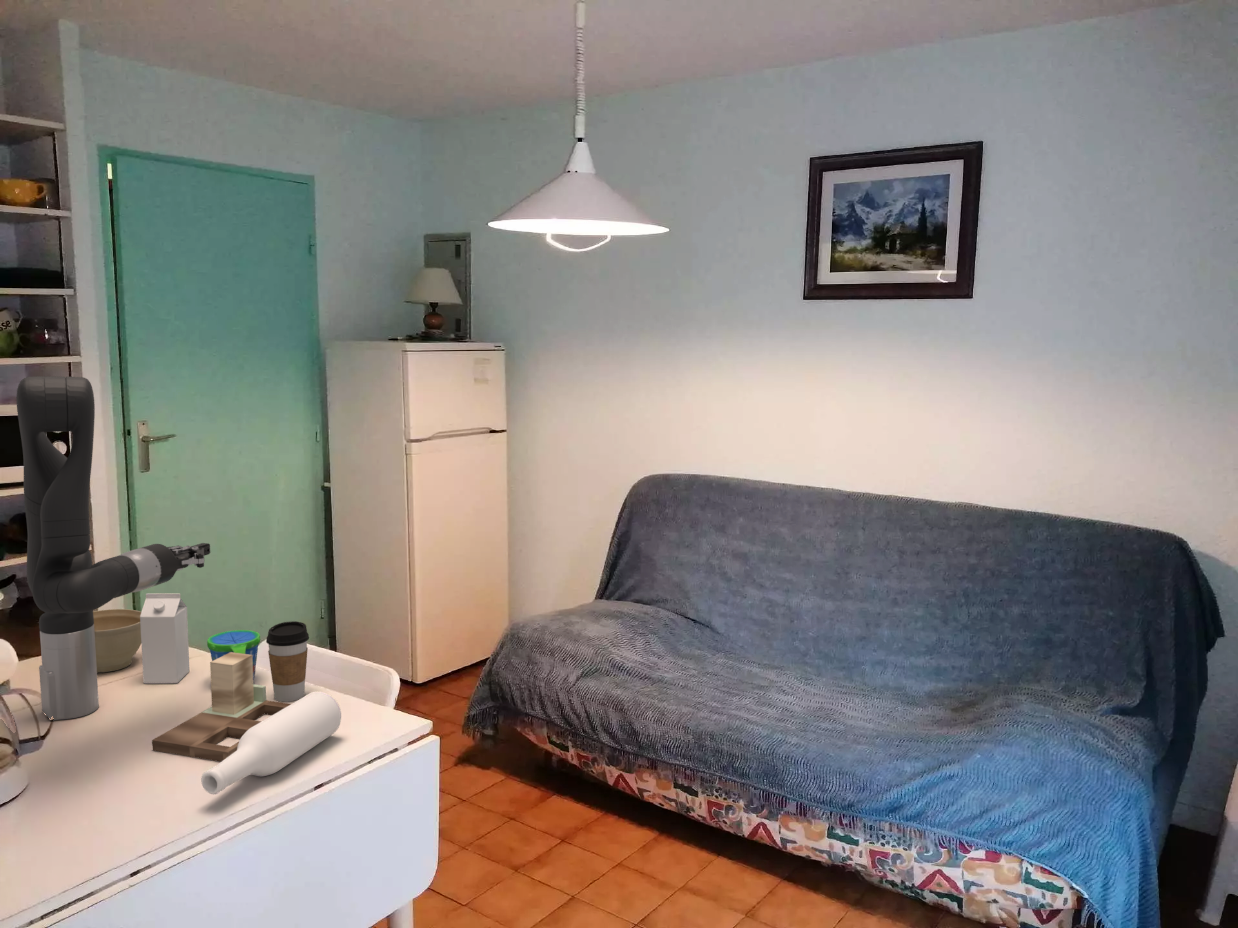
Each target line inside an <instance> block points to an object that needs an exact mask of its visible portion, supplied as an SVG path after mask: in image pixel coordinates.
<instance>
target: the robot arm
mask: <svg viewBox="0 0 1238 928" xmlns="http://www.w3.org/2000/svg"><path fill="white" fill-rule="evenodd" d="M94 394H95V393H94V390H93V386H92V383H91V381H90V380H89V379H88V378H86V377H83V376H57V375H56V376H55V375H54V376H51V375H50V376H45V375H44V376H41V375H40V376H39V375H38V376H37V375H36V376H26V377H24V378H23V379H21V380H20V381H19V383H18V386H17V390H16V411H17V419H18V426H19V432H20V433H19V434H20V438H21V439H20V441H21V447H22V455H23V457H22V458H23V498H24V502H23V503H24V510H25V518H26V520H25V521H26V529H27V530H26V531H27V543H26V544H27V548H26V550H27V551H26V579H27V580H26V581H27V585H28V588H29V590H30V591H31V594H32V597H33V598H32V599H33V601H34V603H35V604H36V605H35V606H37V608H39V610H40V611H42V612H44V613H42V614H41V615H40V616H39V621H38V626H39V627H38V628H39V638H40V651H41V652H40V653H41V665H39V666H38V671H39V685H40V699H41V700H40V701H41V702H40V703H41V712H42V711H43V712H44V713H45V714H46V716H48V718H50V719H51V717H52V716H53V718H54V720H53V721H57V720H70V719H77V718H79V717H80V718H81V717H84V716H88V715H89V714H92V713H93V712H94V713H95V711H97V710H98V709H99V707H100V703H99V702H100V701H99V696H100V695H99V688H98V687H99V686H98V685H99V684H98V673H97V666H96V648H95V631H94V616H93V611H96V610H97V609H99V608H101V607H102V606H104V605H106V604H108V603H109V602H111V601H112V600H114V599H116V598H119V597H123V596H125V595H128V594H132V593H137V592H140V591H141V592H142V591H144V590H146V589H150V588H153V587H156V586H158V585H162V584H165V583H167V582H169V581H171V580H172V579H173V578H174V576H175V574H176V573H177V572H178V571H182V570H183V569H185V568H188V567H189V566H192V565H194V567H197V568H199V569H201V568H204V567H205V556H208V555H210V554H211V544H210V543H209V542H208V543H205V542H201V543H198V544H195V545H194V544H193V545H186V546H182V545H175V546H167V545H165V544H162V543H152V544H150V545H145V546H142V547H139V548H135V549H131V550H129V551H125V552H123V553H121V554H119V555H116V556H112V557H110V558H109V557H108V558H105V559H102V560H99V561H97V562H95V563H94V564H93V559H92V554H91V551H90V547H91V531H90V530H91V528H90V527H91V526H90V525H91V524H90V511H89V510H90V486H91V475H92V465H93V464H92V463H93V453H94V452H93V451H94V434H95V416H96V414H95V409H96V408H95V396H94ZM46 432H48V433H50V432H51V433H52V432H54V433H55V432H56V433H57V432H59V433H60V432H63V433H64V432H71V433H72V434H73V435H72V437H73V438H72V444H71V448H70V452H69V455H68V457H67V456H66V455H64V454H63V452H61V451H60V450H59V449H58V448H57V447H56V446H55V445H54V444H53V443H52V442H51V441H50V439H49V437H48V436H47V434H46ZM43 712H42V713H43ZM44 713H43V714H44ZM46 716H45V717H46ZM48 718H47V719H48Z"/></svg>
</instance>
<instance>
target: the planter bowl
mask: <svg viewBox="0 0 1238 928" xmlns="http://www.w3.org/2000/svg"><path fill="white" fill-rule="evenodd" d="M141 612H142V611H140V610H134V609H129V608H128V609H127V608H114V609H113V608H112V609H111V608H110V609H102V610H93V616H94V631H95V648H96V666H97V674H98V673H107V672H115V671H118V670H121V669H124V668H127V667H129V666H130V665H131V664H132V660H133V657H134V656H135V655H136V654H137V652H138V650H139V649H140V646H142V645H141V625H140V615H141Z"/></svg>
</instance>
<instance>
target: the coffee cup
mask: <svg viewBox="0 0 1238 928" xmlns="http://www.w3.org/2000/svg"><path fill="white" fill-rule="evenodd" d="M309 636H310V635H309V632H308V629H307V624H306V623H304V622H301V621H295V620H293V621H292V620H291V621H283V622H279V623H277V624H275V625H273V626H272V627H270V628H269V629H268V633H267V637H266V641H265V642H266V644H267V645H268V651H267V653H268V659H269V667H270V673H271V680H272V681H271V683H272V688H273V697H274V701H276V702H280V701H281V702H282V703H288V702H289V703H290V702H296V701H298V699H301V698H303V697H305V688H306V687H305V686H306V685H305V684H306V673H307V663H308V662H307V660H308V640H309V639H310V637H309Z"/></svg>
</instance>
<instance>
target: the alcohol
mask: <svg viewBox="0 0 1238 928" xmlns="http://www.w3.org/2000/svg"><path fill="white" fill-rule="evenodd" d="M337 701H338V700H336V698H334V697H333V696H332V695H331V694H329V693H326V692H323V691H312V692H310V693H308V694H306V695H304V696H303V697H302V698H301V699H299V700H296V701H293V703H290V704H291V705H289V706H287V707H286V708H284V709H282V710H281V711H279V712H277V713H275V714H274V715H269V716H268V717H267V718H265V719H264V720H262V722H260V723H258V724H257V725H255V726H253V727H251V728H250V729H248V730H247V731H246V732H245V734H244V735H243V736H242V737H241V739H239V741H238V742H239V743H238V747H237V751H235V752H234V753H233V754H231V755H230V756H229V757H227V758H226V759H225V760H223V761H222V762H219V763H218V764H216V765H215V766H212V767H211V768H209V769H207V770H206V771H204V772H203V773H202V775H201V777H200V778H201V779H200V780H201V782H200V783H201V786H202V788H203V790H204V791H205V792H207V793H208V794H210V795H217V794H219V793H220V792H222V791H224V790H225V789H226V788H227V787H229V786H231V785H234V784H235V783H237V782H239V781H241V780H243V779H244V778H246V777H249V776H250V775H252V776H257V777H266V776H269V775H273V774H275V773H277V772H279V771H280V770H282V769H283V768H285V767H286V766H287V765H289V764H291V763H292V762H293V761H295V760H296V759H298V758H300V757H301V756H303V755H304V754H306V753H307V752H308V751H310V750H312V749H313V748H314V747H316V746H318V744H321V743H322V742H323V741H324V740H326V739H328V738H329V737H331V736H332V735H333V734H335V733H336V732H337V731H338V730H339V728H340V725H341V720H342V711H341V707H340V705H339V703H338V702H337Z"/></svg>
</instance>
